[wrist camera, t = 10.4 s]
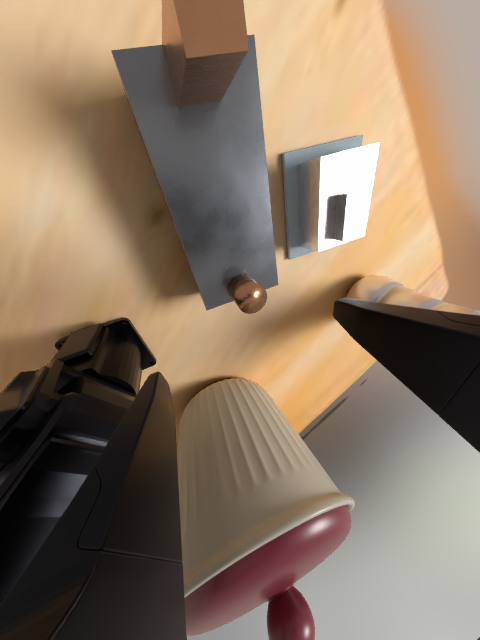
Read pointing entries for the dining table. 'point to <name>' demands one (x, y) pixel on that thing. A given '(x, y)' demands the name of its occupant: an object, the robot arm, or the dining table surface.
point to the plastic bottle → (399, 295)
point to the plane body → (208, 145)
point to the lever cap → (335, 197)
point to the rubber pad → (291, 185)
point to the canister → (251, 511)
